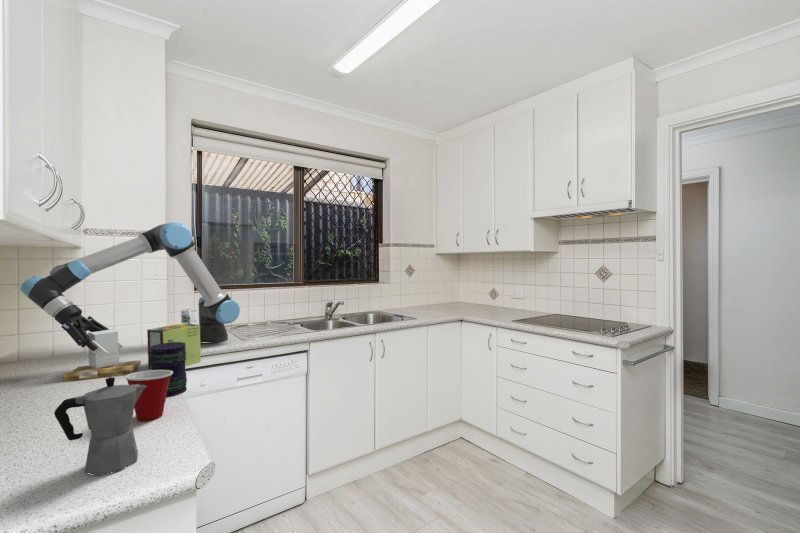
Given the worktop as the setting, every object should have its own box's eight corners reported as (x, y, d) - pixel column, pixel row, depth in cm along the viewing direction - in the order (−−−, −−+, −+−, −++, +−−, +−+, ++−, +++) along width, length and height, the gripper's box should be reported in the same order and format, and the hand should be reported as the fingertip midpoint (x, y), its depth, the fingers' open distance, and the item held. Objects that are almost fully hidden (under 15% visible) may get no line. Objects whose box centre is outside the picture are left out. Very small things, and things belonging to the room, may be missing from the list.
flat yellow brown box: (140, 364, 155) (140, 356, 155) (132, 374, 141) (132, 366, 141) (78, 370, 147) (78, 362, 147) (63, 382, 133) (62, 373, 133)
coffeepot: (139, 444, 88) (137, 366, 87) (157, 457, 82) (155, 373, 82) (50, 476, 75) (47, 384, 75) (64, 493, 70) (61, 394, 69)
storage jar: (187, 393, 120) (186, 346, 120) (150, 400, 115) (149, 350, 115) (186, 385, 129) (185, 340, 128) (151, 390, 124) (150, 344, 123)
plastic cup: (183, 411, 107) (182, 368, 106) (147, 427, 96) (146, 380, 96) (153, 407, 110) (152, 365, 109) (115, 423, 99) (114, 377, 99)
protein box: (201, 362, 157) (200, 324, 157) (163, 372, 144) (162, 331, 143) (185, 359, 162) (184, 322, 162) (147, 368, 149) (146, 329, 148)
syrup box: (180, 335, 212) (180, 309, 212) (189, 333, 218) (189, 308, 217) (189, 336, 210) (188, 310, 210) (197, 334, 216) (197, 308, 216)
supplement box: (112, 361, 149) (111, 329, 148) (119, 364, 144) (118, 331, 144) (88, 365, 143) (87, 332, 142) (95, 369, 138) (94, 334, 138)
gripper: (76, 314, 152) (121, 351, 155) (32, 323, 129) (85, 367, 132) (91, 300, 152) (135, 338, 155) (49, 307, 130) (102, 351, 133)
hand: (112, 351), depth 144 cm, fingers closed on supplement box, 10 cm apart
